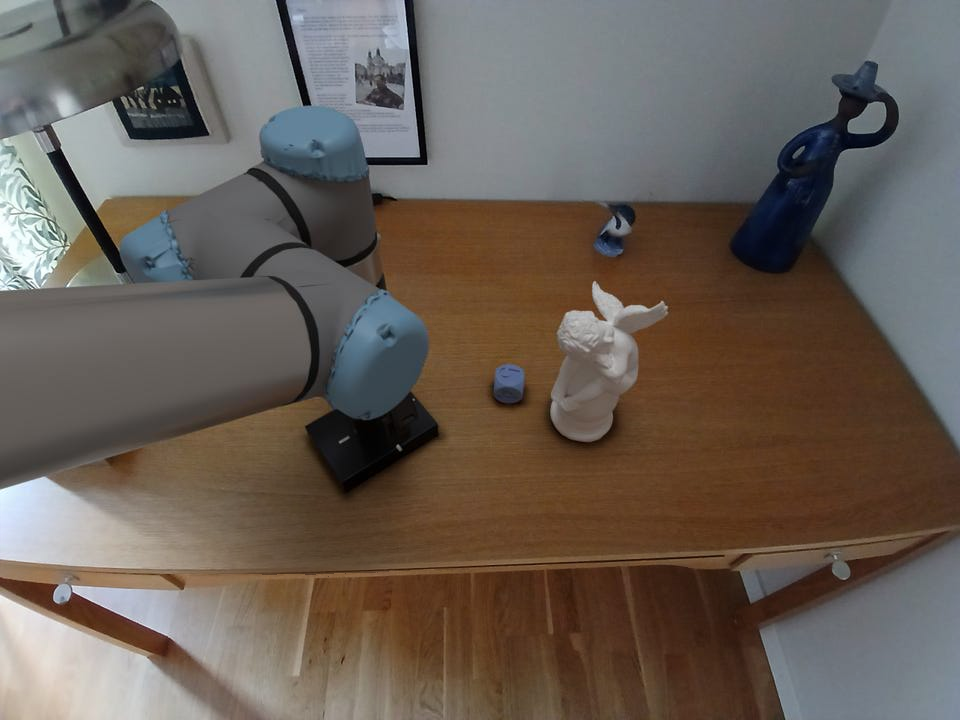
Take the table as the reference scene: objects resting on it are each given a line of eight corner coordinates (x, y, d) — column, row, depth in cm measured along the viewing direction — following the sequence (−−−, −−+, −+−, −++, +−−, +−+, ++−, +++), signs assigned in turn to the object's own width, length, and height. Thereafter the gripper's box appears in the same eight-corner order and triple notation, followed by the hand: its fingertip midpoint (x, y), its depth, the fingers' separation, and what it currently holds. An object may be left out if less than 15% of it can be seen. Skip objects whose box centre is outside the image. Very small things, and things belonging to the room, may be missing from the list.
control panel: (348, 497, 69) (343, 485, 66) (307, 435, 74) (301, 422, 72) (441, 438, 74) (440, 425, 72) (396, 385, 80) (394, 371, 77)
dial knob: (358, 440, 70) (348, 405, 64) (349, 428, 71) (338, 392, 65) (405, 413, 73) (399, 377, 67) (396, 401, 74) (389, 364, 68)
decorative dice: (521, 404, 78) (523, 387, 75) (493, 402, 78) (494, 385, 75) (523, 382, 80) (525, 364, 77) (495, 379, 81) (496, 362, 77)
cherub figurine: (543, 443, 74) (565, 331, 57) (536, 370, 82) (554, 252, 65) (634, 443, 74) (683, 331, 57) (618, 370, 82) (657, 253, 65)
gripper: (447, 333, 49) (453, 458, 66) (322, 204, 60) (355, 338, 77) (373, 373, 46) (399, 493, 63) (257, 230, 58) (305, 364, 74)
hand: (375, 408), depth 70 cm, fingers open, 11 cm apart
